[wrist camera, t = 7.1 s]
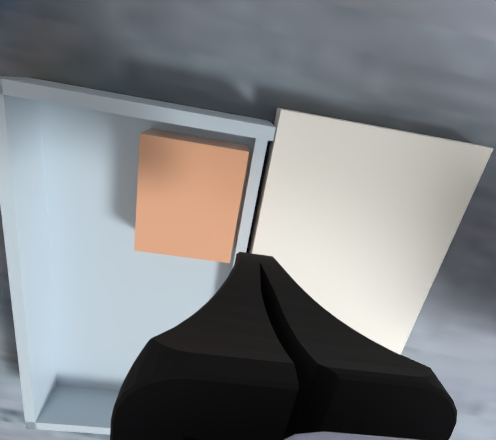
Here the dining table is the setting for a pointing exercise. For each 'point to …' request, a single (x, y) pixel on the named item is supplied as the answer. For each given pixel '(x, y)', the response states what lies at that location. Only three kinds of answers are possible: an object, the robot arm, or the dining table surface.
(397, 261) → the cream plate
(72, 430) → the tray
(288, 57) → the dining table surface
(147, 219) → the terracotta tile
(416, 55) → the dining table surface
